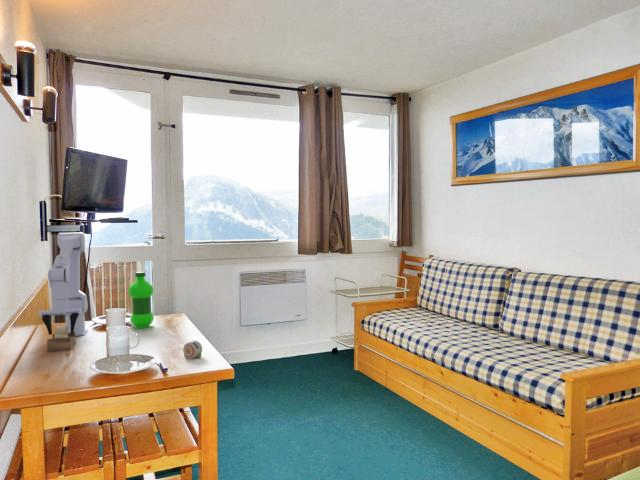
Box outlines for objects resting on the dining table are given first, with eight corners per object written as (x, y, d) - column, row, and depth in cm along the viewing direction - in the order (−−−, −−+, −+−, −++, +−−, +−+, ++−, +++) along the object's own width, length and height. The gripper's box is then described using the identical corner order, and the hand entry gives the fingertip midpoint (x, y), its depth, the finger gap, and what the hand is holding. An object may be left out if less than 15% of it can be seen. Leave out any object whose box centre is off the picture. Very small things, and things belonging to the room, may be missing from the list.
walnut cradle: (53, 345, 195) (53, 333, 195) (75, 343, 197) (75, 332, 197) (47, 351, 185) (46, 339, 185) (70, 349, 188) (70, 337, 188)
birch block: (57, 338, 192) (56, 326, 192) (68, 338, 194) (67, 325, 193) (54, 341, 189) (54, 328, 188) (66, 340, 190) (65, 327, 190)
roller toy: (195, 360, 170) (195, 343, 170) (181, 358, 173) (180, 342, 172) (203, 357, 174) (203, 340, 174) (189, 355, 177) (188, 339, 176)
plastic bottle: (130, 325, 228) (128, 271, 227) (154, 323, 232) (152, 270, 230) (129, 330, 219) (127, 274, 218) (154, 328, 222) (152, 272, 221)
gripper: (36, 301, 185) (37, 337, 185) (78, 299, 189) (80, 334, 189) (40, 298, 191) (42, 333, 192) (81, 296, 195) (83, 330, 196)
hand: (61, 333), depth 191 cm, fingers open, 7 cm apart
